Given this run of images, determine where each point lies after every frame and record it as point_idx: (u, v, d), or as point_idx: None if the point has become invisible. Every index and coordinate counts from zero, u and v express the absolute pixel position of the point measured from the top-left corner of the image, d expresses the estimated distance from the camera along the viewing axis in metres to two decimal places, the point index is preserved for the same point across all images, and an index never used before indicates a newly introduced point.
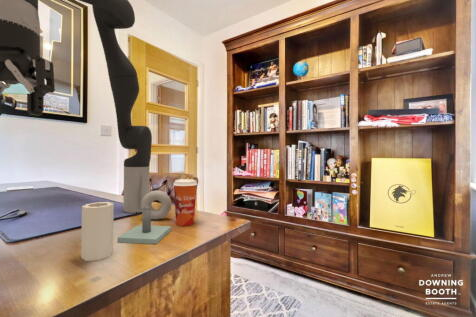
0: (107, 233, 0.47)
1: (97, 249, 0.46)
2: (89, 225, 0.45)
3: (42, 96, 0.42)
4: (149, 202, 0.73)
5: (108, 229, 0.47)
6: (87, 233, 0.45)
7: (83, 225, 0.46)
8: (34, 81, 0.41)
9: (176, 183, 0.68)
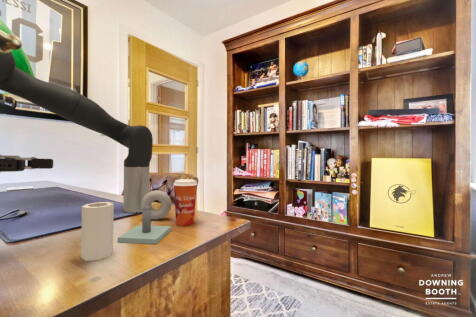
0: (107, 233, 0.47)
1: (97, 249, 0.46)
2: (89, 225, 0.45)
3: None
4: (149, 202, 0.73)
5: (108, 229, 0.47)
6: (87, 233, 0.45)
7: (83, 225, 0.46)
8: None
9: (176, 183, 0.68)
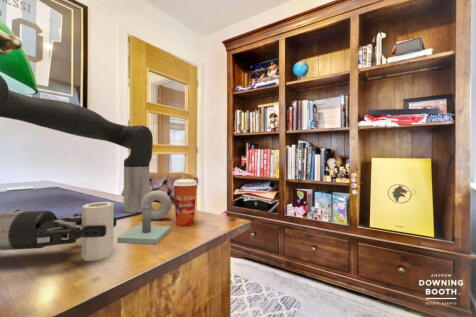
0: (107, 233, 0.47)
1: (97, 249, 0.46)
2: (89, 225, 0.45)
3: (83, 231, 0.44)
4: (149, 202, 0.73)
5: (108, 229, 0.47)
6: None
7: (83, 225, 0.46)
8: None
9: (176, 183, 0.68)
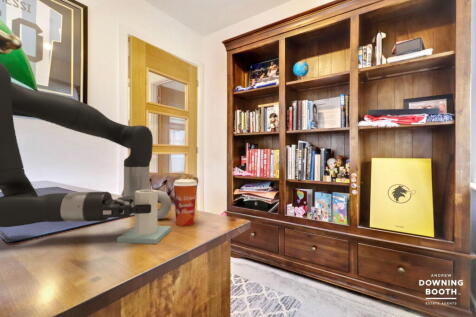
0: (154, 213, 0.59)
1: (148, 226, 0.57)
2: None
3: (134, 208, 0.54)
4: None
5: (155, 210, 0.59)
6: None
7: None
8: None
9: (176, 183, 0.68)
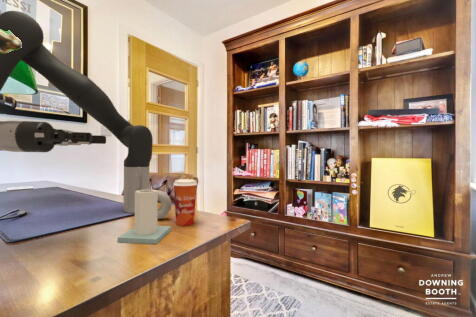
0: (154, 213, 0.59)
1: (148, 226, 0.57)
2: (142, 206, 0.57)
3: (71, 134, 0.51)
4: None
5: (155, 210, 0.59)
6: (140, 213, 0.57)
7: (136, 207, 0.57)
8: None
9: (176, 183, 0.68)
